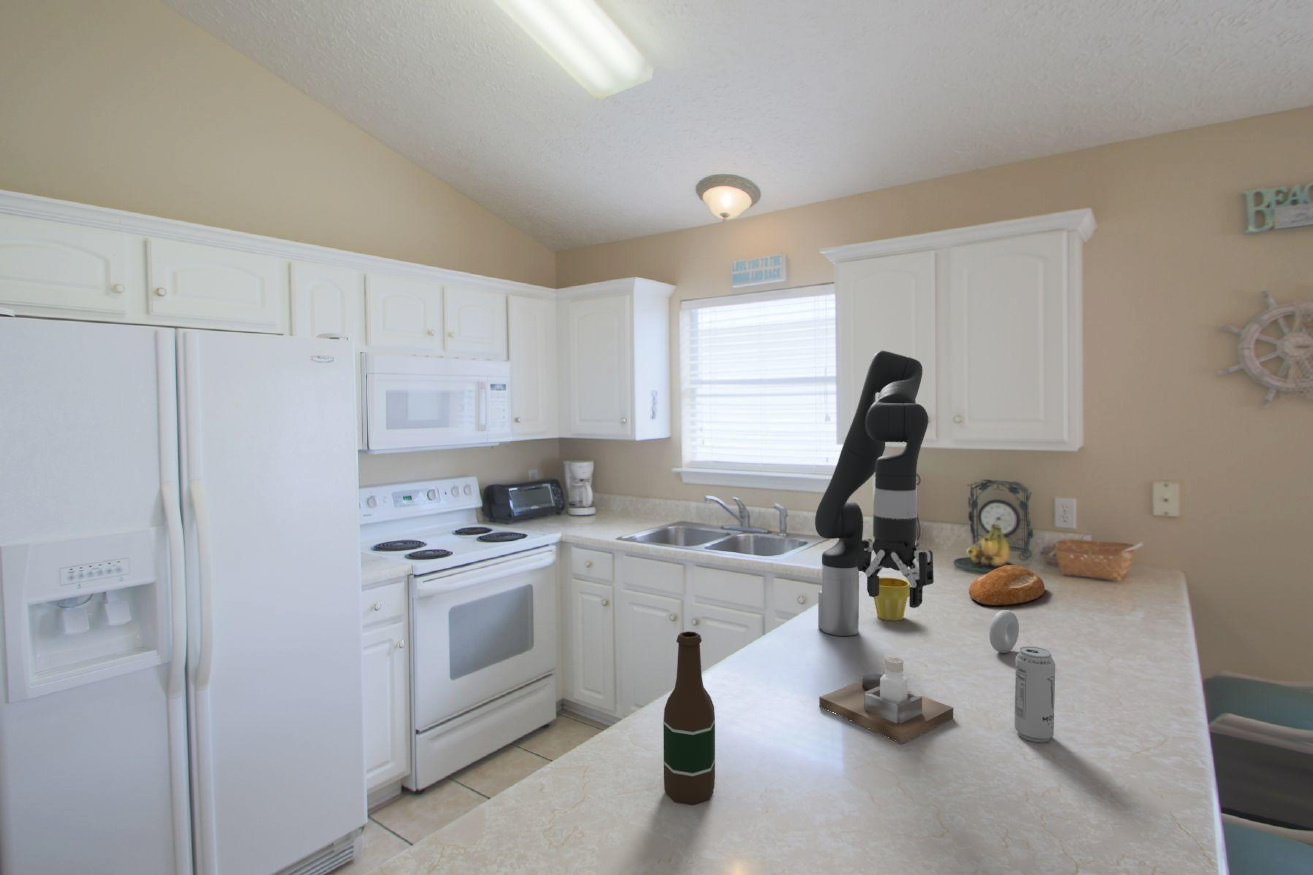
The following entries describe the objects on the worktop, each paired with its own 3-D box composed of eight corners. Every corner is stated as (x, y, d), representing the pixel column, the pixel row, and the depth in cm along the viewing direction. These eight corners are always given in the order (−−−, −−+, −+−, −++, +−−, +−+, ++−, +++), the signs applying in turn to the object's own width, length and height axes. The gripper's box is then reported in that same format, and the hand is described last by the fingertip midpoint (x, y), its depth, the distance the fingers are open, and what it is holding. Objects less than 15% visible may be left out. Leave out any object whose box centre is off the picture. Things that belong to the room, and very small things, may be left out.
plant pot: (868, 620, 183) (868, 584, 182) (871, 609, 192) (871, 575, 192) (909, 624, 179) (909, 588, 179) (910, 613, 189) (911, 578, 188)
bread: (1060, 591, 212) (1060, 562, 211) (1012, 614, 189) (1013, 582, 188) (1001, 580, 225) (1002, 553, 224) (950, 600, 202) (951, 571, 201)
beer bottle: (661, 778, 106) (660, 626, 105) (710, 775, 107) (710, 624, 105) (666, 807, 98) (665, 644, 97) (719, 804, 99) (719, 642, 98)
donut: (1001, 659, 154) (1001, 616, 154) (985, 655, 157) (986, 612, 157) (1021, 649, 161) (1022, 608, 160) (1006, 645, 163) (1007, 604, 163)
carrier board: (819, 706, 131) (819, 681, 130) (870, 686, 140) (870, 662, 140) (902, 744, 116) (902, 715, 116) (953, 718, 126) (953, 691, 125)
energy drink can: (1052, 747, 115) (1054, 660, 114) (1012, 738, 118) (1014, 653, 117) (1054, 732, 120) (1056, 649, 119) (1015, 724, 123) (1017, 642, 122)
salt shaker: (887, 703, 127) (887, 654, 127) (908, 710, 125) (909, 659, 124) (878, 711, 124) (879, 660, 124) (900, 717, 122) (900, 665, 121)
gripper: (943, 516, 120) (941, 607, 121) (874, 506, 131) (873, 589, 132) (918, 521, 115) (916, 615, 116) (849, 510, 127) (848, 596, 128)
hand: (893, 601), depth 124 cm, fingers open, 8 cm apart
